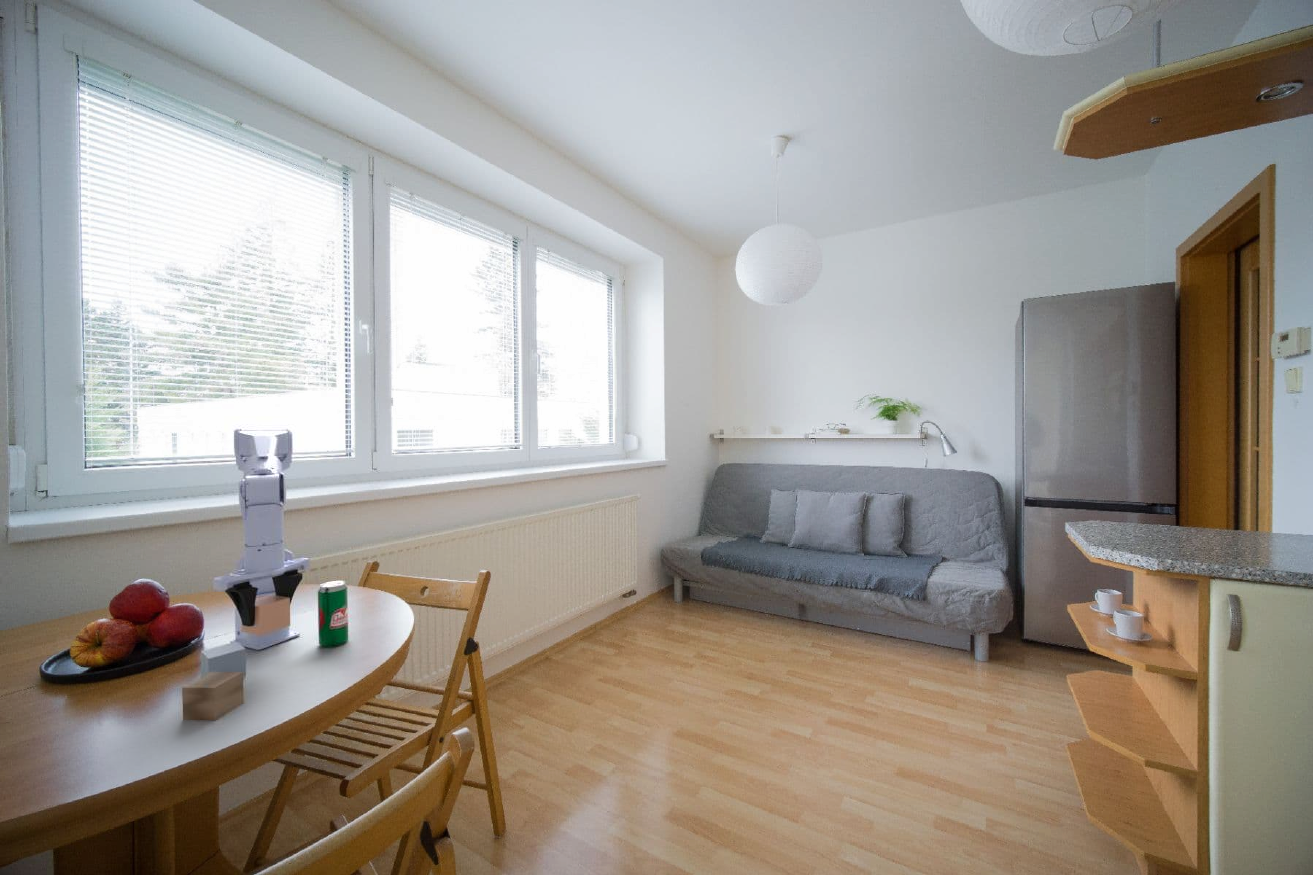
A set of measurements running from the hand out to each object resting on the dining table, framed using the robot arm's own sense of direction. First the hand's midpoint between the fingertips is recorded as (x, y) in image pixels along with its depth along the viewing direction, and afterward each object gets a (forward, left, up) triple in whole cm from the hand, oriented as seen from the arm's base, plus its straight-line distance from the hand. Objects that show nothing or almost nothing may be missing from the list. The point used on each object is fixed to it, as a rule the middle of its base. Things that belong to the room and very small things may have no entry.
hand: (265, 619), depth 91 cm
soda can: (-1, +13, -10) cm, 16 cm away
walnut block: (+6, -11, -10) cm, 16 cm away
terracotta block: (0, 0, -2) cm, 2 cm away
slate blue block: (-5, -4, -10) cm, 11 cm away
